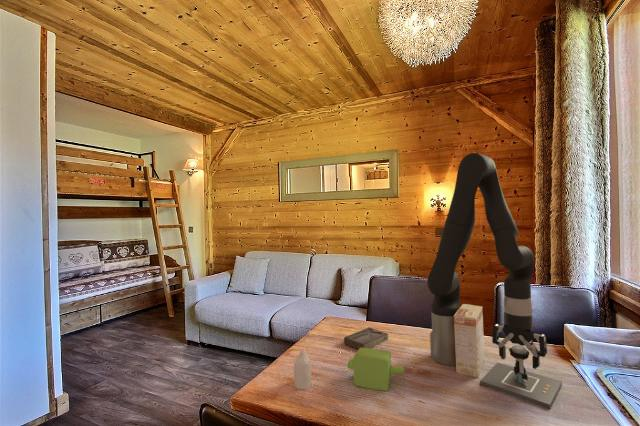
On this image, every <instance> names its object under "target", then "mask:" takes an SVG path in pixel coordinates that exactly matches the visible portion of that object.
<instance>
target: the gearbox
mask: <svg viewBox="0 0 640 426" xmlns="http://www.w3.org/2000/svg"><path fill="white" fill-rule="evenodd" d="M391 357H392V356H391V351H389V350H382V349H377V348H359V350H357V351H356V352H355V354H354V356H351V357H350V359H349V360H348V362H347V368H348V369H350V370H352V371H353V385H354V386H358V387H361V388H366V389H367V388H368V389H372V390H378V391H385V392H386V391H388V390H389V388H390V384H391V377H392V376H394V375H401V374H404V373H405V368H404V366H403V365H397V366H392V363H391V362H392V360H391Z"/></svg>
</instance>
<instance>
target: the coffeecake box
mask: <svg viewBox="0 0 640 426" xmlns="http://www.w3.org/2000/svg"><path fill="white" fill-rule="evenodd" d="M454 330H455V352H456V364H455V371H456V373H458V374H461V375H465V376H471V377H474V378H476V379H477V378H479V376H480V373H481V370H482V369H483V365H484V362H485V360H486V358H485V341H484V340H485V337H484V336H485V335H484V314H483V306H481V305H474V304H469V303H467V304H466V303H462V304H461V306H459V308H458V311H457V312H456V313H455V315H454Z"/></svg>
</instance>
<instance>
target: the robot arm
mask: <svg viewBox="0 0 640 426" xmlns="http://www.w3.org/2000/svg"><path fill="white" fill-rule="evenodd" d="M495 163H496V162H494V160H493V158H491V157H489V156H488V155H485V154H481V153H477V152H471V153H468V154H466V155H465V156H463V158H462V159H461V161H460V162H459V164H458V169H457V175H456V181H455V185H454V186H455V187H454V190H453V194H452V198H451V201H450V205H449V208H448V213H447V216H446V219H445V222H444V226H443V229H442V234H441V237H440V241H439V245H438V248H437V249H438V250H437V253H436V257H435V259H434V262H433V264H432V267H431V269H430V271H429V274H428V277H427V280H426V281H427V282H426V284H427V288H428V290H429V292H430V293H431V294H432V295H434V297H433V300H432V303H431V306H430V309H431V310H430V311H431V331H430V332H429V342H430V358H431V359H432V360H434V361H435V362H437V363H439V364H441V365H447V366H453V365H455V366H456V352H455V330H454V315H455V313H456V312H457V311H458V309H459V308H460V304H461V303H460V302H461V298H460V297H461V294H460V293H461V289H460V288H461V285H460V278H459V276H458V274H457V272H456V267H457V264H458V261H459V259H460V258H461V256H462V254H463V253H464V251H465V250H466V248H467V247H468V244H469V242H470V240H471V237H472V234H473V230H474V227H475V224H476V205H475V204H476V203H475V202H476V200H475V199H476V195H477V191H478V189H479V191H480V193H481V196H482V199H483V203H484V204H483V205H484V211H485V217H486V218H485V219H486V221H487V224H488V226H489V229H490V231H491V233H492V235H493V237H494V246H495V252H496V256H497V259H498V261H499V262H500V263H499V264H501V266H502V267H503V268H505V269H506V270H508V271H509V273H508V275H507V276H506V277H505V279H504V280H503V281H504V282H503V294H504V295H503V325H500V324H499V323H495V324H494V325H492V341H491V342H492V343H493V344H495V345H497V346H498V355H499V357H500V358H501V360H505V359H506V358H507V353H506V352H507V351H506V349H507V346H506V344H507V343H508V342H511V344H515V345H518V346H522V347H524V346H525V348H526V350H527V351H529V352H530V353H531V354H532V358H531V359H532V369H534V370H536V369H537V368H538V369H539V367H540V365H541V363H540V357H542V358H545V357H546V356H547V354H548V345H547V336H546V335H545V333H541V334H538V333H535V332H534V330H533V323H534V322H533V311H534V310H533V303H532V292H531V291H532V288H531V287H532V286H531V282H532V279H533V275H534V268H535V256H534V252H532V250H531V249H530V248H529V247H527V246H525V245H518V242H517V237H518V236H519V228H518V227H517V225H516V222H515V220H514V218H513V216H512V213H511V211H510V209H509V206H508V204H507V202H506V199H505V196H504V194H503V189H502V187H501V183H500V179H499V176H498V171H497V167H496V164H495ZM502 331H503V334H504V335H505V337H504V338H503V339H502V340H500V333H501V332H502ZM533 339H535V340H536V341H537V342H538V345H539V349H538V347H537V346H536V344H535V343H534V341H533Z"/></svg>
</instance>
